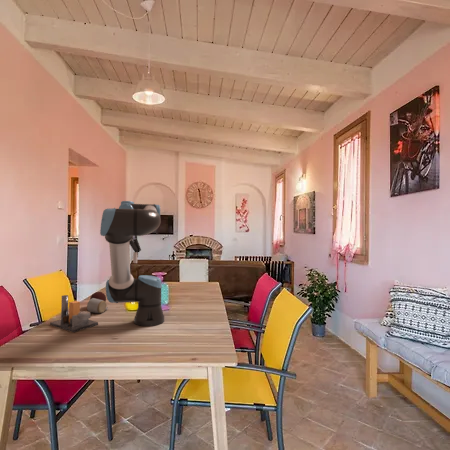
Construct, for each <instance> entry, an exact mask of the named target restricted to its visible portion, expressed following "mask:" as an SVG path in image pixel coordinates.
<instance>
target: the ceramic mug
mask: <svg viewBox="0 0 450 450" xmlns="http://www.w3.org/2000/svg"><path fill="white" fill-rule="evenodd" d="M107 306H108V305H107V302H105V301H103V300H99V299H95V298H92V299H90V298H89V301H87V304H86V309H87V312H89V313H95V314H102V313H104V312H105V311H108V308H109V307H107Z"/></svg>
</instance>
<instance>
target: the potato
mask: <svg viewBox="0 0 450 450" xmlns="http://www.w3.org/2000/svg"><path fill="white" fill-rule="evenodd" d="M92 298H95V299H99V300H103V301H105V302H106V301H107V296H106V293H104V292H102V291H96V292H94V293H92V294H91V296H90V298H89V300H90V299H92ZM106 303H107V302H106Z"/></svg>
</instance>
